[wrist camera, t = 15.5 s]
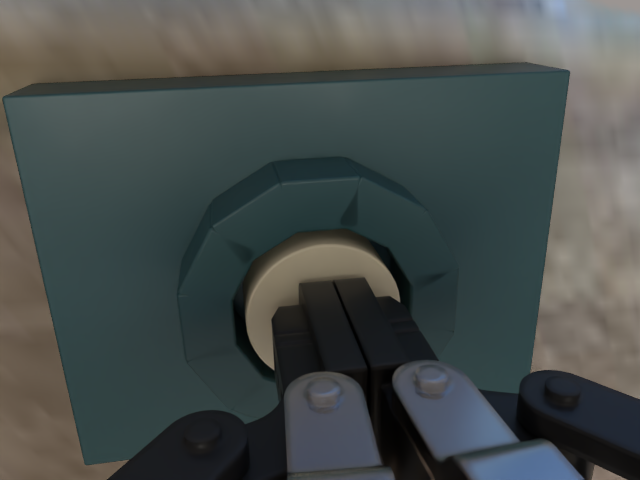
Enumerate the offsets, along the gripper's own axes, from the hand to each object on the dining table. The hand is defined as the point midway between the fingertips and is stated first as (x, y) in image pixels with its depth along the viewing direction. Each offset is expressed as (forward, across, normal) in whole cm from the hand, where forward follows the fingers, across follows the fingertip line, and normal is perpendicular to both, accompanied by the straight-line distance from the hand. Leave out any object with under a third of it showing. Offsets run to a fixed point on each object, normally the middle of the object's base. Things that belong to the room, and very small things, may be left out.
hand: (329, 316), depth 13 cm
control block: (+4, 0, 0) cm, 4 cm away
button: (+2, 0, 0) cm, 2 cm away
